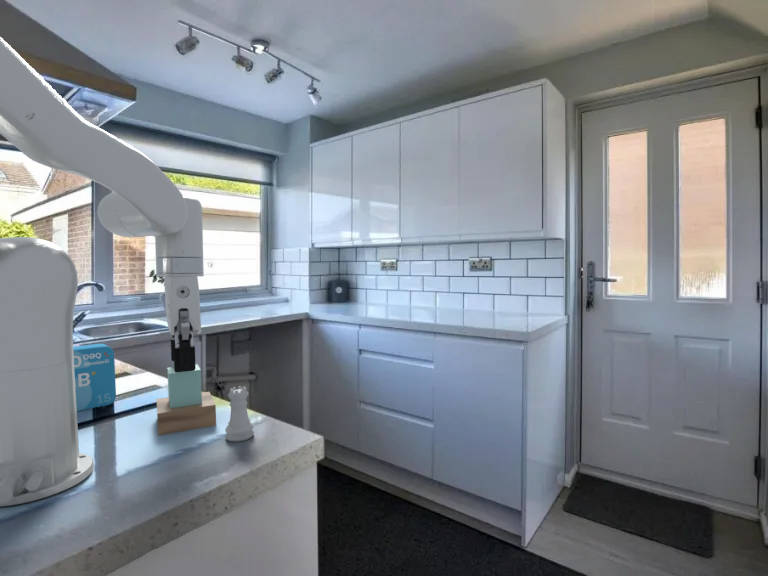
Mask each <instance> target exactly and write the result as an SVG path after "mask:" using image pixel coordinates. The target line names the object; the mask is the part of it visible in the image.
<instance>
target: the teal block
mask: <svg viewBox="0 0 768 576" xmlns="http://www.w3.org/2000/svg"><path fill="white" fill-rule="evenodd" d="M195 366H196V368H195V370H194V371H186V372H175V371H174V366H171V367H170V366H169V367H166V368H167V369H166V371H167V389H168V390H167V391H168V393H167V394H168V397H169V404H170V408H177V407H183V406H190V405H196V404H202V393H203V392H202V370H201V369H202V368H200V366H199V365H198V363H195Z"/></svg>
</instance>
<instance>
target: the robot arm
mask: <svg viewBox="0 0 768 576" xmlns="http://www.w3.org/2000/svg"><path fill="white" fill-rule="evenodd" d="M8 43H9V42H7V41H5V39H4V38H2V37H1V36H0V135H1V136H2V137H4V138H5V139H6V140H7V141H8V142H9V143H10V144H12V145H13V146H14V147H16V149H18V151H20V152H21V154H23V155H24V156H26V157H27V158H28V159H30V160H31V161H33V162H35V163H37V164H41V165H43V166H45V167H48V168H51V169H53V170H57V171H60V172H64V173H65V172H66V173H69V174H71V175H76V176H79V177H83V178H85V179H88V180H91V181H93V182H95V183H97V184H99V185H101V186H103V187H105V188H107V189H109V190H110V191H111V192H110V193H108V194H107V195H105V196H104V197H103V198H102V199H101V200H100V201H99V203H98V206H97V211H96V213H97V217H98V221H99V223H100V224H101V225H102V227H104V229H106V230H107V231H108V232H110V233H111V234H113V235H117V236H118V237H119V236H120V237H124V238H144V237H154V241H155V243H154V244H155V245H154V246H155V248H154V249H155V267H156V268H155V272H156V275H155V276H156V277H157V278H161V277H162V278H164V282H163V283H164V302H165V305H164V306H165V316H166V323H167V328H168V332H169V334H170V335H171V339H170V351H171V352H170V355H171V356H170V357H171V359H170V360H171V361H172V362H173V367H174V371H175V372H186V371H194V370H195V368H196V366H195V364H196V346H195V342H194V341H195V340H194V332H195V333H196V334H198V335H199V334H200V333H201V332H202V322H201V321H202V319H201V318H202V317H201V301H200V287H199V279H198V277H204V276H205V275H204V272H205V271H204V239H203V235H204V233H203V229H204V228H203V206H202V203H201V202H200V200H198V199H197V198H194V197H193V196H188V195H187V196H185V195H183V193H182V192H181V191H180V190H179V188H178V187H177V185H176V184H175V183H174V182H173V181H172V180H171V178H169V177H168V175H166V174H165V172H164V171H162V169H161V168H160V167H159V165H157V164H156V163H155V162H154V161H152V160H151V159H150V158H149V157H148V156H146V155H145V154H144V153H143V152H141V151H139V150H137V149H136V148H134V147H133V146H131V145H130V144H128V143H126V142H125V141H123V140H121V139H120V138H119V139H118V138H117V137H116V136H114V135H113V134H111V133H109V132H107V131H105V130H104V129H102V128H100V127H99V126H97V125H94V124H92V123H90V122H89V121H87V120H85V118H83V117H82V116H81V115H80V114H79V113H78V112H77V111H75V109H74V108H72V106H71V105H70V104H68V102H67V101H66V100H65V99H64V98H62V96H61V95H59V93H57V91H56V90H55V89H53V88H52V86H51V85H50V84H49V83H48V82H47V81H46V80H45V79H44V78H43V77H42V76H41V75H40V74H39V73H38V72H37V71H36V70H35V69H34V68H33V67H32V66H31V65H29V63H27V62H26V60H25V59H24V58H23V57H21V55H20V54H19V53H18V52H17V51H16V50H15V49H13V48H12V47H11V45H10V44H8ZM78 279H79V277H78V272H77V268H76V266H75V263H74V261H73V259H72V257H70V256H69V254H68V253H67V252H66V251H65V250H64V249H62V247H60V246H59V245H57V244H54V243H53V242H51V241H49V240H45V239H43V238H42V239H41V238H38V237H28V236H18V237H17V236H16V237H15V236H14V237H13V236H12V237H0V507H7V506H8V507H9V506H15V505H22V504H26V503H30V502H34V501H39V500H41V499H45V498H49V497H50V496H53V495H56V494H60V493H62V492H63V491H66V490H69V489H70V488H72V487H74V486H76V485H78V484H79V483H81V482H82V481H84V480H85V479H86V478H87V477H89V476H90V474H92V472H93V471H94V467H95V465H94V458H93V457H92V456H91V455H88V454H86V453H82V452H80V448H79V428H78V427H79V426H78V411H77V407H76V389H75V370H74V353H73V347H74V333H73V332H74V315H75V314H74V313H75V306H76V301H77V300H76V299H77V294H78V285H79V283H78V282H79V280H78Z"/></svg>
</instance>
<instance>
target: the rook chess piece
mask: <svg viewBox="0 0 768 576" xmlns="http://www.w3.org/2000/svg"><path fill="white" fill-rule="evenodd" d="M249 394H250V393H249V392H248V391H247V387H246V386H240V385H239V386H238V388H236V386H233V387H232V388H230V389H229V393H228V394H227V397H228V398H229V399H230V403H229V406H230V417H229V421H228V423H227V424H228V425H227V426H226V428H225V429H224V430H225V431H224V432H225V433H226V434H225V436H224V437H225V439H226V440H227V441H229V442H231V443H241V442H245V441H247V440H250V439H252V437H253V435H254V434H255V432H254V430H253V429H254V425H253V424H252V422H251V420H250V418H249V413H248V409H247V408H248V407H247V405H248V404H249V402H248V401H247V398H248V396H249Z"/></svg>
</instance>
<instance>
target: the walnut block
mask: <svg viewBox="0 0 768 576" xmlns="http://www.w3.org/2000/svg"><path fill="white" fill-rule="evenodd" d="M216 406H217V405H216V403H215V400H214V399H213V396H212V394H211V392H210V391H205V392H202V404H196V405H190V406H183V407H177V408H170V404H169V396H167V397H163V398H161V397H160V398H156V417H157V419H156V421H157V435H158V436H162V435H169V434H174V433H179V432H180V433H181V432H187V431H190V430H191V431H192V430H193V431H194V430H197V429H203V428H209V427H215V426H217V409H216V408H217V407H216Z"/></svg>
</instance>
